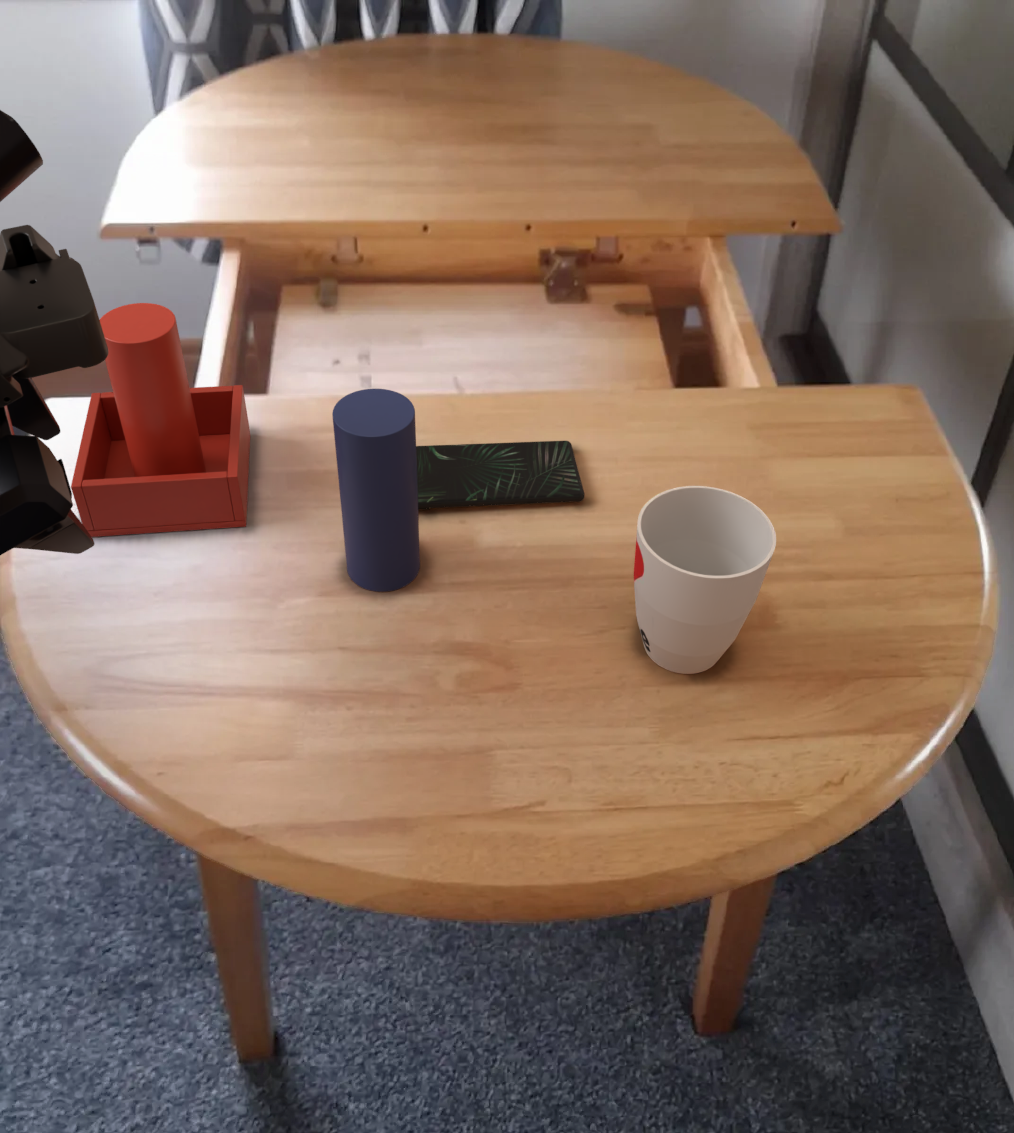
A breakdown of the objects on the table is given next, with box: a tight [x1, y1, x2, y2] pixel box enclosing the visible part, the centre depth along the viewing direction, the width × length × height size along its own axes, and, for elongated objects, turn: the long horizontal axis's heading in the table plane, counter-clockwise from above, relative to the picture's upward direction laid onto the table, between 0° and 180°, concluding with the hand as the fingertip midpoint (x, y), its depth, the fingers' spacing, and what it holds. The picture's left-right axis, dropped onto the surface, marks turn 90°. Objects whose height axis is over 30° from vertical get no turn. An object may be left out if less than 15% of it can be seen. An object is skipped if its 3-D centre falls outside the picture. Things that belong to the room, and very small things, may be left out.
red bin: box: [70, 384, 251, 538], centre depth 81 cm, size 11×11×5 cm
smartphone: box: [416, 440, 585, 511], centre depth 83 cm, size 7×1×15 cm
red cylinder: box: [99, 302, 206, 477], centre depth 78 cm, size 5×5×13 cm
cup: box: [633, 485, 777, 675], centre depth 69 cm, size 8×8×10 cm
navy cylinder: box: [332, 388, 421, 593], centre depth 72 cm, size 5×5×13 cm
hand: (69, 489), depth 64 cm, fingers open, 9 cm apart
